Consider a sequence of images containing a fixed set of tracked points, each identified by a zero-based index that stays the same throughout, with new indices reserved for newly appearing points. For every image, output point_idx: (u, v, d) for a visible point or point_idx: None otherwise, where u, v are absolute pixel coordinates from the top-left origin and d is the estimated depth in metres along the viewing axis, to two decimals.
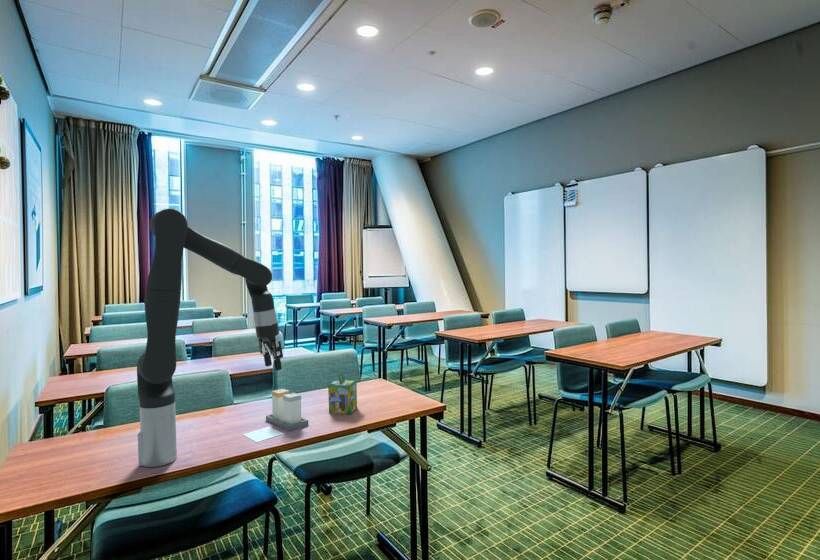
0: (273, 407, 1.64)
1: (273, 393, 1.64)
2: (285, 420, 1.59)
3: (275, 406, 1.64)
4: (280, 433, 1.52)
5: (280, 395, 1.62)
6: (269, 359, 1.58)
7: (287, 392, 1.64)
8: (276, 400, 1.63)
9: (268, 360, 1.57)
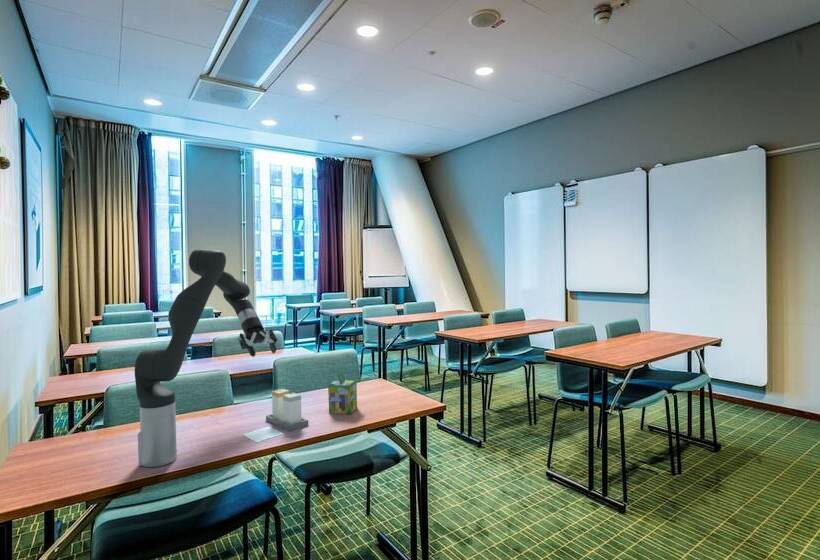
0: (273, 407, 1.64)
1: (273, 393, 1.64)
2: (285, 420, 1.59)
3: (275, 406, 1.64)
4: (280, 433, 1.52)
5: (280, 395, 1.62)
6: None
7: (287, 392, 1.64)
8: (276, 400, 1.63)
9: None
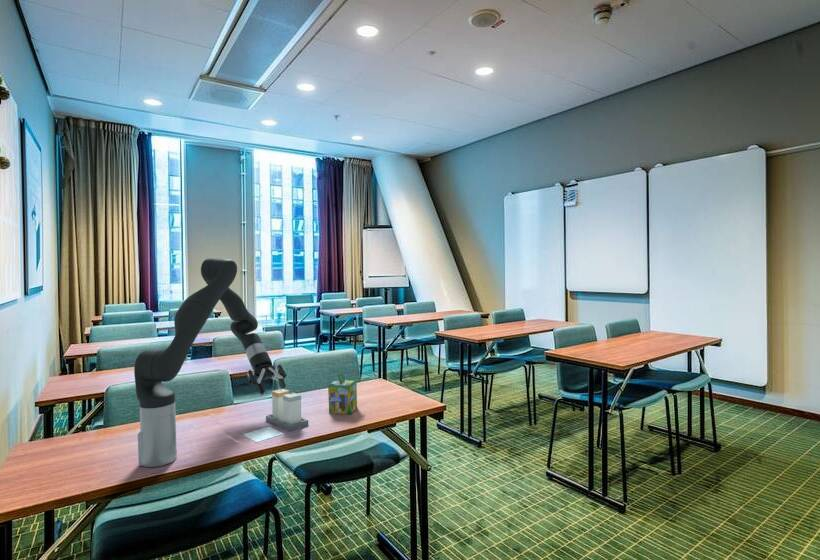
0: (273, 407, 1.64)
1: (273, 393, 1.64)
2: (285, 420, 1.59)
3: (275, 406, 1.64)
4: (280, 433, 1.52)
5: (280, 395, 1.62)
6: None
7: (287, 392, 1.64)
8: (276, 400, 1.63)
9: None
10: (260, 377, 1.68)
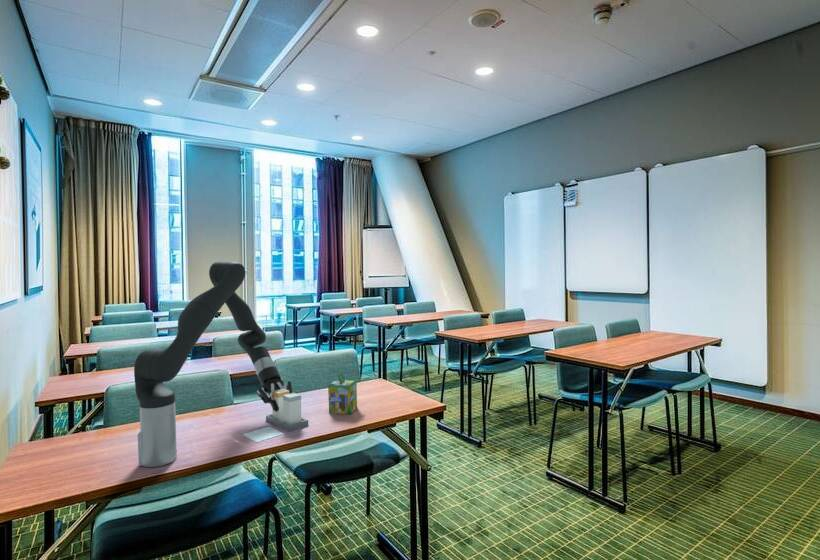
0: None
1: (273, 393, 1.64)
2: (285, 420, 1.59)
3: None
4: (280, 433, 1.52)
5: (280, 395, 1.62)
6: None
7: (287, 392, 1.64)
8: (276, 400, 1.63)
9: None
10: (272, 393, 1.64)
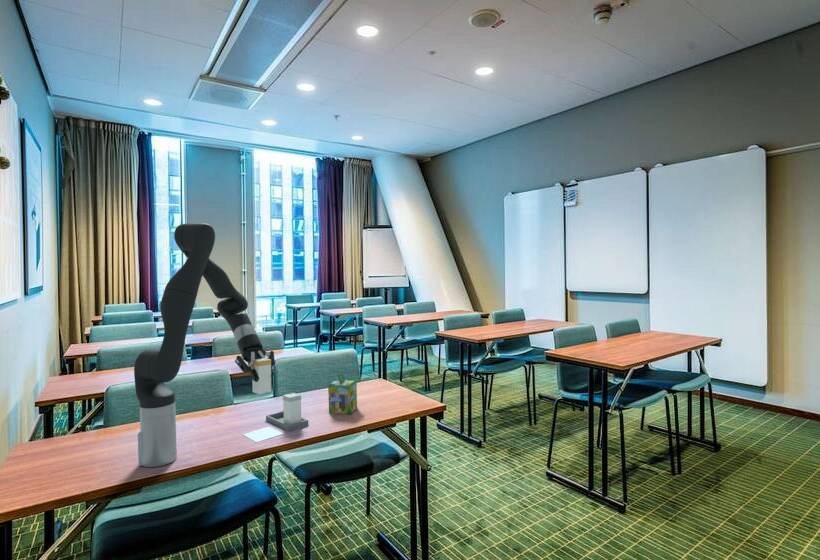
0: None
1: (253, 362, 1.50)
2: (285, 420, 1.59)
3: None
4: (280, 433, 1.52)
5: (261, 364, 1.48)
6: None
7: (268, 361, 1.50)
8: (256, 369, 1.49)
9: None
10: (252, 362, 1.50)
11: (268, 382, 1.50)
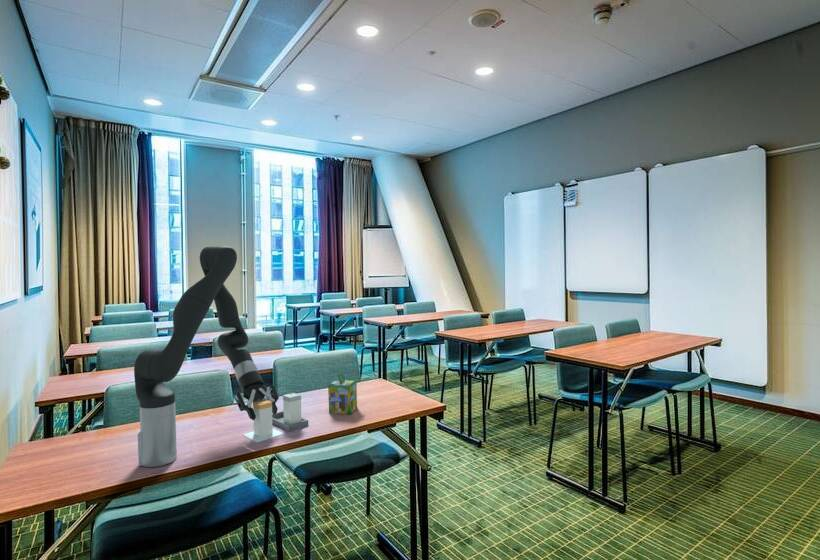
0: (255, 420, 1.50)
1: (254, 405, 1.50)
2: (285, 420, 1.59)
3: (256, 419, 1.50)
4: (280, 433, 1.52)
5: (262, 407, 1.48)
6: None
7: (269, 403, 1.50)
8: (257, 412, 1.49)
9: None
10: (250, 400, 1.50)
11: (269, 424, 1.51)
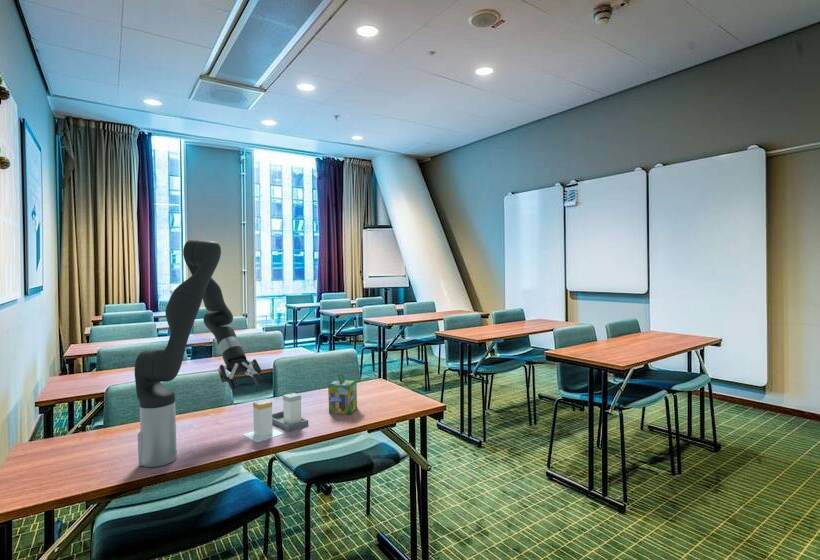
0: (255, 420, 1.50)
1: (254, 405, 1.50)
2: (285, 420, 1.59)
3: (256, 419, 1.50)
4: (280, 433, 1.52)
5: (262, 407, 1.48)
6: None
7: (270, 403, 1.50)
8: (257, 412, 1.49)
9: None
10: (232, 372, 1.58)
11: (269, 424, 1.51)
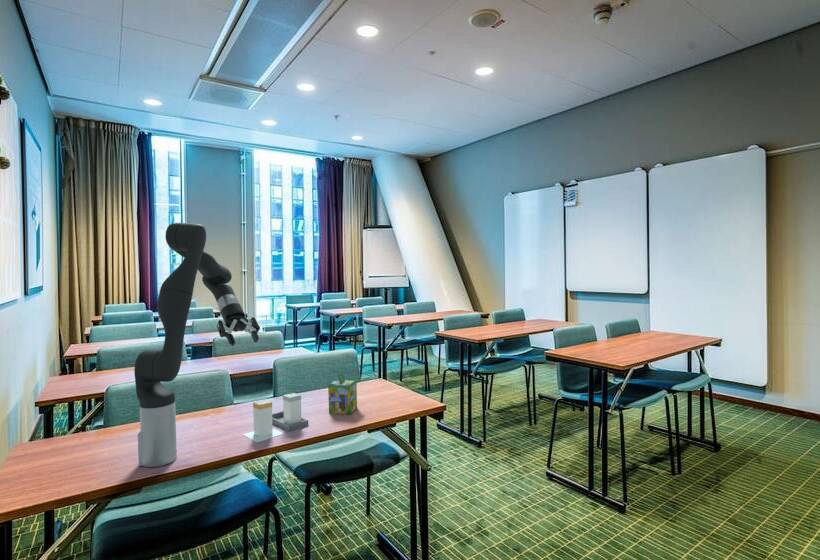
0: (255, 420, 1.50)
1: (254, 405, 1.50)
2: (285, 420, 1.59)
3: (256, 419, 1.50)
4: (280, 433, 1.52)
5: (262, 407, 1.48)
6: None
7: (270, 403, 1.50)
8: (257, 412, 1.49)
9: None
10: (231, 328, 1.58)
11: (269, 424, 1.51)
